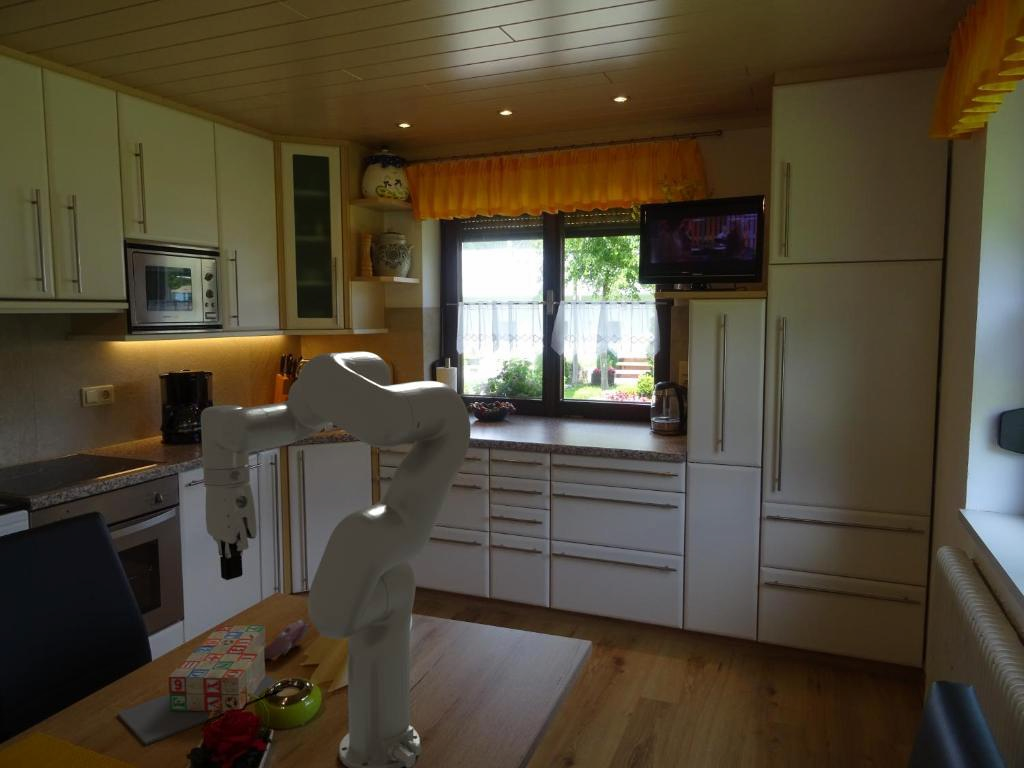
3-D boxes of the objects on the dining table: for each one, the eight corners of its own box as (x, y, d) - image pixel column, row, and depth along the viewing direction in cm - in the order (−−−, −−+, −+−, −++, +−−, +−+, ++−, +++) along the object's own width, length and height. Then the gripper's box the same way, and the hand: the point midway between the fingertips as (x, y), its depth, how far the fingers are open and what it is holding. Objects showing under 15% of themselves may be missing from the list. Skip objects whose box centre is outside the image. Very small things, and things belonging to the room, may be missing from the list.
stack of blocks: (219, 624, 145) (280, 624, 145) (220, 654, 146) (281, 655, 145) (167, 677, 124) (239, 677, 124) (169, 712, 124) (240, 713, 124)
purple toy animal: (276, 669, 144) (289, 641, 142) (258, 657, 144) (271, 628, 143) (304, 647, 153) (316, 621, 152) (286, 635, 154) (299, 609, 152)
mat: (283, 689, 133) (283, 686, 133) (146, 745, 116) (145, 742, 116) (250, 666, 142) (250, 663, 142) (118, 715, 124) (117, 712, 124)
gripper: (268, 477, 125) (273, 581, 127) (226, 467, 135) (231, 563, 137) (227, 485, 120) (232, 593, 121) (186, 474, 130) (192, 573, 131)
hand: (232, 577), depth 129 cm, fingers closed
